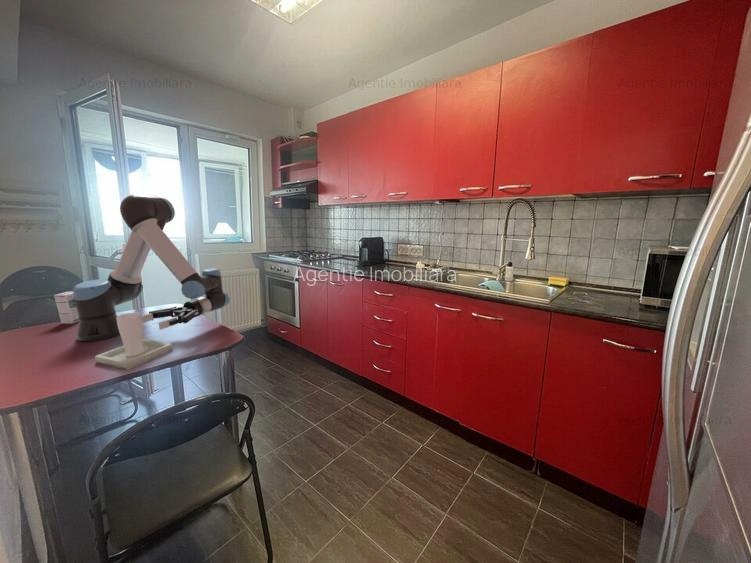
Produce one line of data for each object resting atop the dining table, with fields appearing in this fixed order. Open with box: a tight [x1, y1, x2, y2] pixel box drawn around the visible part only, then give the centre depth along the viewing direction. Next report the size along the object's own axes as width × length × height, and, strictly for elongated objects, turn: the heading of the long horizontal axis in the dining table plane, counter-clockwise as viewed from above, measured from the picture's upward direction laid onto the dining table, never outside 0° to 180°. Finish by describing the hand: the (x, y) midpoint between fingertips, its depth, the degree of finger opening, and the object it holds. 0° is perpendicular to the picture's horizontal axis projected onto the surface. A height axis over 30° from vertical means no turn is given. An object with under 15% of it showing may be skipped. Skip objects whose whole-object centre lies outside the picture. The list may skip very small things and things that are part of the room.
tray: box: [94, 338, 173, 371], centre depth 109 cm, size 16×16×2 cm
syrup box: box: [54, 291, 80, 325], centre depth 142 cm, size 6×6×14 cm
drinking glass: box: [116, 312, 145, 357], centre depth 108 cm, size 7×7×15 cm
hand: (147, 323), depth 112 cm, fingers open, 13 cm apart
